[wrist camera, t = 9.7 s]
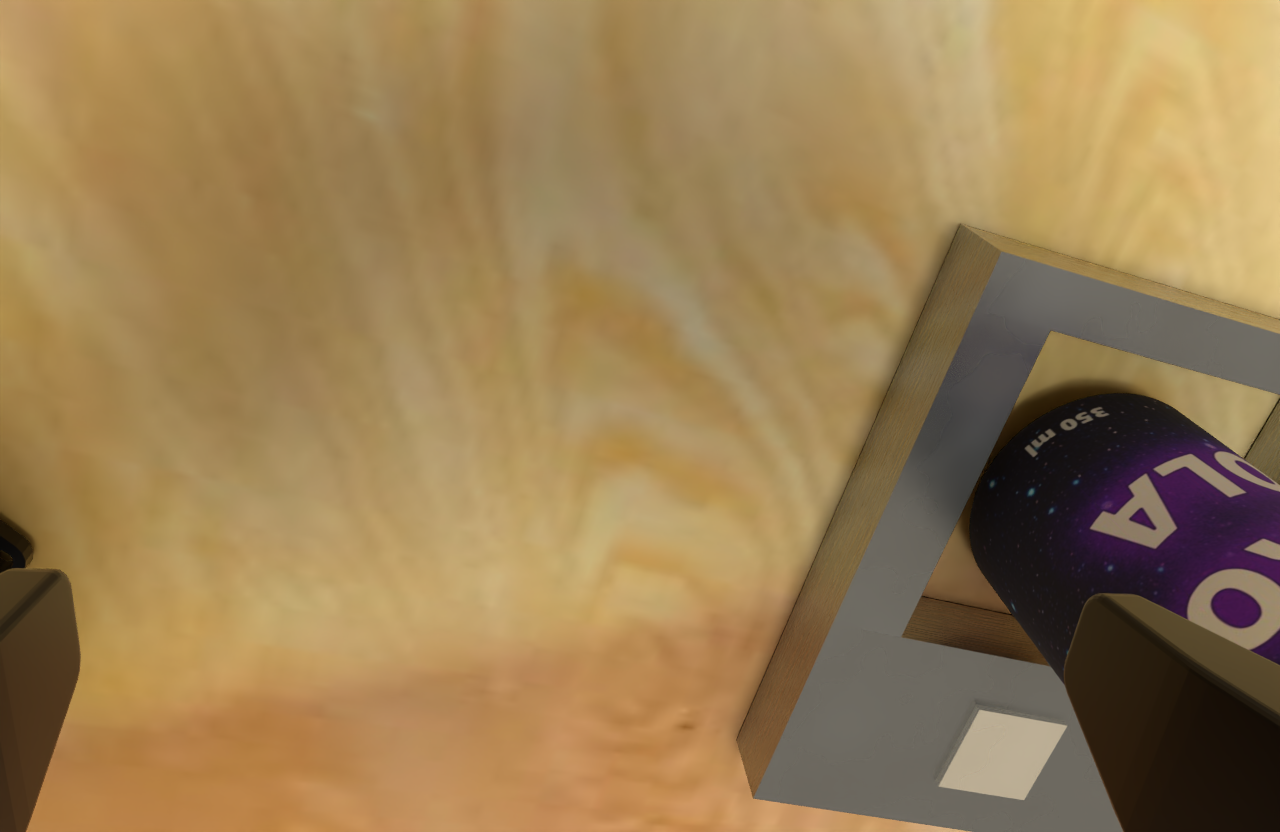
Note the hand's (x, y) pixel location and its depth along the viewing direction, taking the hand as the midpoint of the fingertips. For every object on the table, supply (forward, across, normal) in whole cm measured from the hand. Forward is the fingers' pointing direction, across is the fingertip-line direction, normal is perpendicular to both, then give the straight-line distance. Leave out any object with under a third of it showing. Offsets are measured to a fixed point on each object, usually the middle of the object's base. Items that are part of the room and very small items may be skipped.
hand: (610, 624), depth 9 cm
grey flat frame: (+13, -13, +7) cm, 19 cm away
